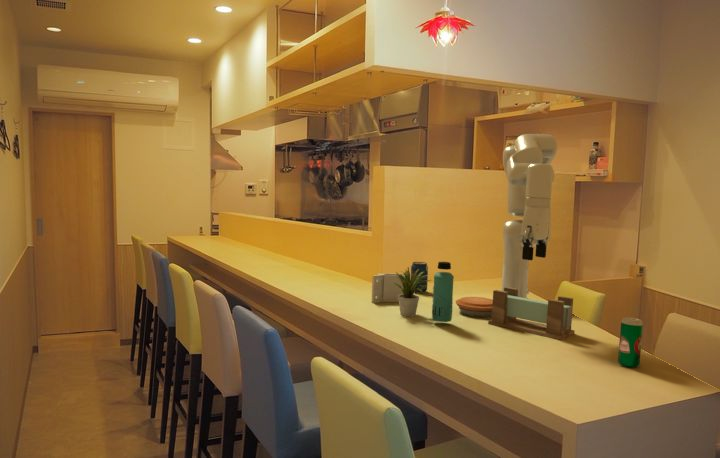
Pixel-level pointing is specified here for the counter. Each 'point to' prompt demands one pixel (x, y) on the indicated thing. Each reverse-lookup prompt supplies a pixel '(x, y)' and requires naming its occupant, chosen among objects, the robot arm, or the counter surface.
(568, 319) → the rail
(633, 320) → the soda can
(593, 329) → the counter surface
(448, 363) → the counter surface
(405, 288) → the house plant
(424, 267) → the soda can
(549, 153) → the robot arm
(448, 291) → the beverage bottle
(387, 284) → the hinge
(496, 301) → the post stand
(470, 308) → the pie
